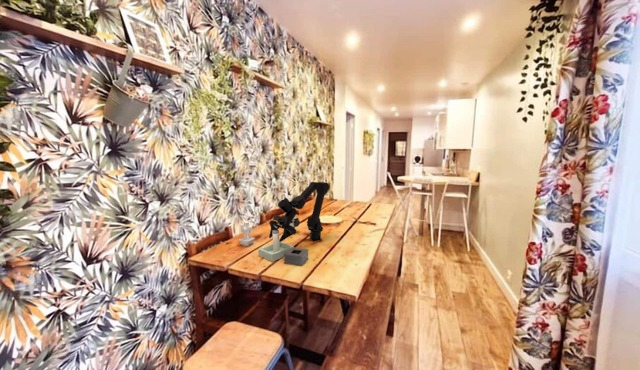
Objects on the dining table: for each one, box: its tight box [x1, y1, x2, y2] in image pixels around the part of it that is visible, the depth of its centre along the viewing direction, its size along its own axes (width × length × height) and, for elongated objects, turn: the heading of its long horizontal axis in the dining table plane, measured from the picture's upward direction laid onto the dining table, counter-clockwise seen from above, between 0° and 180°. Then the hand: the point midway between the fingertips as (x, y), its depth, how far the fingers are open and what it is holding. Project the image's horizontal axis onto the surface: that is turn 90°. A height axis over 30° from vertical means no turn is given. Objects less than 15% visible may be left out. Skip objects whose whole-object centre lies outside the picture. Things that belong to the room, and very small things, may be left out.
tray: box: [258, 241, 295, 262], centre depth 148 cm, size 16×12×4 cm
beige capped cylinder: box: [272, 229, 280, 253], centre depth 147 cm, size 4×4×13 cm
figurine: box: [238, 220, 256, 247], centre depth 162 cm, size 7×9×15 cm
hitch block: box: [283, 247, 309, 267], centre depth 140 cm, size 10×10×5 cm
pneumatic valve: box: [290, 216, 301, 229], centre depth 188 cm, size 6×12×12 cm, turn 53°
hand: (274, 239), depth 146 cm, fingers open, 9 cm apart
